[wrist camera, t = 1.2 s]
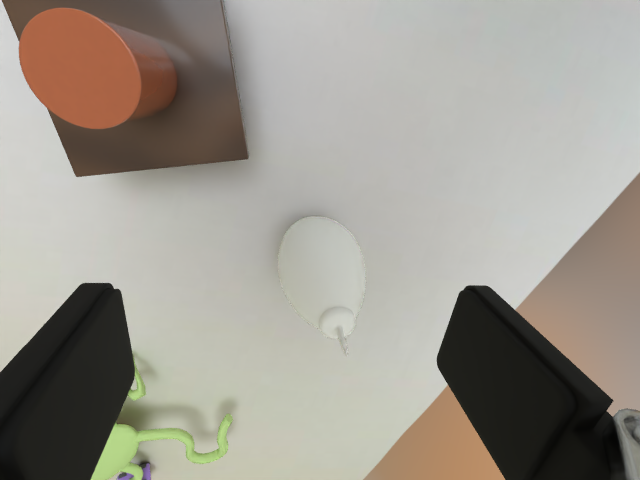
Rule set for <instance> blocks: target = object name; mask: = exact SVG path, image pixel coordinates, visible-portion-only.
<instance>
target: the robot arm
mask: <svg viewBox="0 0 640 480" xmlns="http://www.w3.org/2000/svg"><path fill="white" fill-rule="evenodd" d="M437 365H438V368H439V370H440V372H441V374H442V375H443V377H444V379H445V380H446V382H447V383H448V385H449V387H450V388H451V390H452V392H453V393H454V395H455V397H456V398H457V400H458V402H459V403H460V405H461V407H462V408H463V410H464V412H465V413H466V415H467V417H468V418H469V420H470V422H471V423H472V425H473V427H474V428H475V430H476V431H477V433H478V435H479V436H480V438H481V440H482V441H483V443H484V445H485V446H486V448H487V450H488V451H489V453H490V455H491V456H492V458H493V460H494V461H495V463H496V465H497V466H498V468H499V470H500V471H501V473H502V475H503V476H504V478H505V480H640V411H638V410H633V409H622V410H619V411H618V412H617V413H616V414H615V415H614V417H612V416H611V415H610V414H609V413H608V412H607V409H608V407H609V406H610V405H611V403H612V401H613V400H612V399H611V398H610V397H609V396H608V395H607V394H606V393H605V392H603V391H602V390H601V389H600V388H599V387H598V386H597V385H596V384H595V383H594V382H593V381H592V380H590V379H589V378H588V377H587V376H586V375H585V374H584V373H583V372H582V371H581V370H580V369H579V368H577V367H576V366H575V365H574V364H573V363H572V362H571V361H570V360H569V359H568V358H566V357H565V356H564V355H563V354H562V353H561V352H560V351H559V350H558V349H557V348H556V347H555V346H553V345H552V344H551V343H550V342H549V341H548V340H547V339H546V338H545V337H544V336H543V335H541V334H540V333H539V332H538V331H537V330H536V329H535V328H534V327H533V326H532V325H530V324H529V323H528V322H527V321H526V320H525V319H524V318H523V317H522V316H521V315H520V314H519V313H517V312H516V311H515V310H514V309H513V308H512V307H511V306H510V305H509V304H508V303H507V302H506V301H504V300H503V299H502V298H501V297H500V296H499V295H498V294H497V293H496V292H495V291H494V290H492V289H491V288H490V287H488V286H466V287H465V288H464V290H463V291H461V292H460V293H459V295H458V298H457V301H456V304H455V307H454V310H453V312H452V315H451V318H450V321H449V324H448V327H447V330H446V333H445V335H444V338H443V341H442V344H441V347H440V350H439V353H438V356H437ZM134 376H135V366H134V360H133V355H132V349H131V344H130V338H129V333H128V327H127V322H126V316H125V311H124V305H123V300H122V294H121V291H120V290H119V289H114V288H113V286H112V284H110V283H83V284H81V285H80V286H79V287H78V288H77V289H76V290H75V291H74V292H73V293H72V295H71V296H70V297H69V298H68V299H67V300H66V301H65V302H64V303H63V305H62V306H61V307H60V308H59V309H58V310H57V311H56V312H55V313H54V315H53V316H52V317H51V318H50V319H49V320H48V321H47V322H46V323H45V324H44V326H43V327H42V328H41V329H40V330H39V331H38V332H37V333H36V334H35V336H34V337H33V338H32V339H31V340H30V341H29V342H28V343H27V344H26V345H25V346H24V347H23V348H22V349H21V350H20V351H19V352H18V354H17V355H16V356H15V357H14V358H13V359H12V360H11V361H10V362H9V363H8V365H7V366H6V367H5V368H4V369H3V370H2V371H1V372H0V480H91V477H92V475H93V473H94V471H95V468H96V466H97V464H98V461H99V459H100V457H101V455H102V452H103V450H104V448H105V445H106V443H107V441H108V438H109V436H110V434H111V432H112V429H113V427H114V425H115V422H116V420H117V418H118V416H119V413H120V411H121V409H122V406H123V404H124V402H125V400H126V397H127V395H128V393H129V390H130V388H131V386H132V383H133V380H134Z"/></svg>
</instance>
